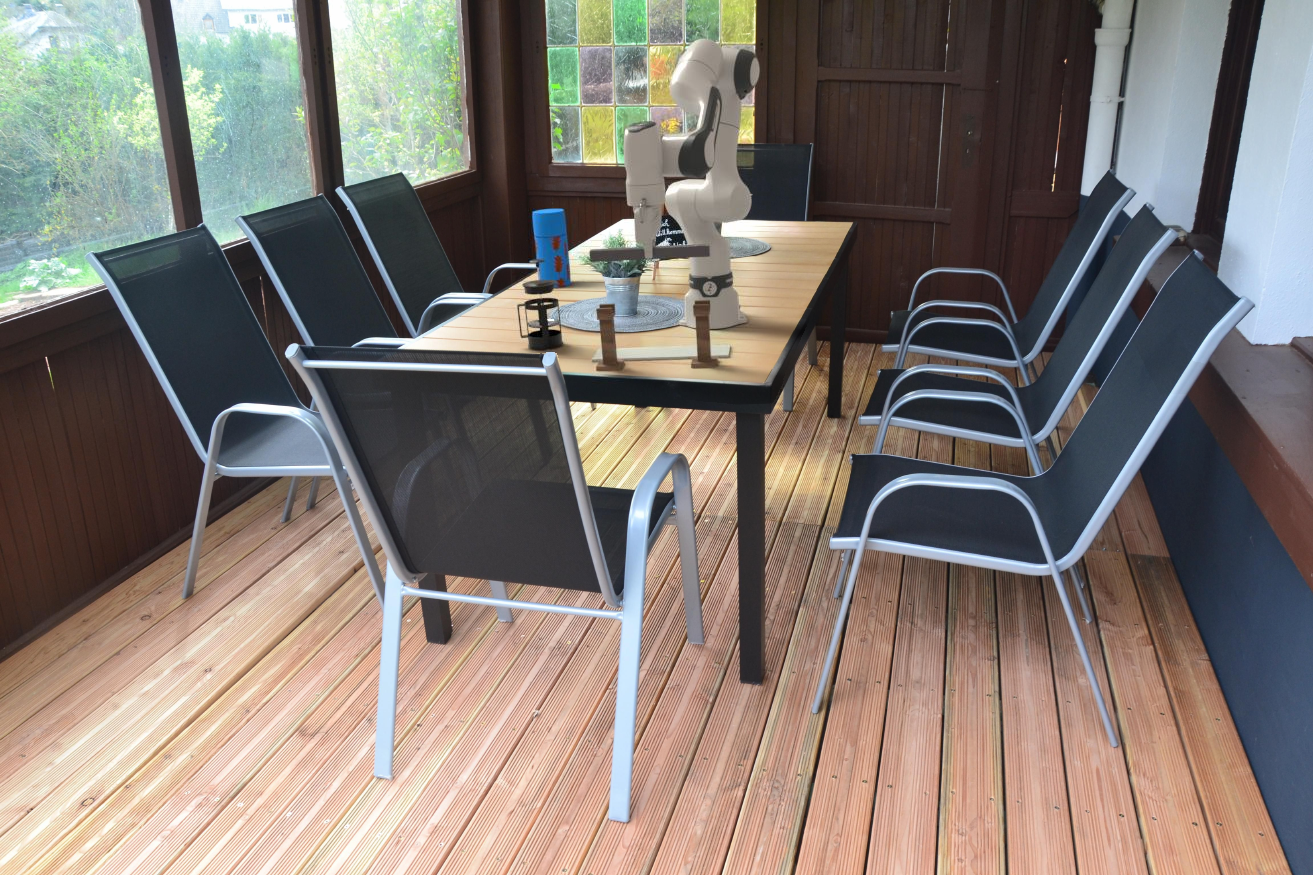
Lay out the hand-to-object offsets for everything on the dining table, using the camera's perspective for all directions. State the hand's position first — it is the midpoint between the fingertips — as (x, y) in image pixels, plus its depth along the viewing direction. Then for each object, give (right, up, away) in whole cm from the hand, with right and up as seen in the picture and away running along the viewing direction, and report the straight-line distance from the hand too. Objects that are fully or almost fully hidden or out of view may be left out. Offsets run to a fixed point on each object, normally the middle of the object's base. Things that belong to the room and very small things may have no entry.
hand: (650, 256), depth 238 cm
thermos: (-33, +10, +111) cm, 116 cm away
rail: (0, 0, 0) cm, 0 cm away
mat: (+3, -21, +18) cm, 28 cm away
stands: (+2, -25, +9) cm, 26 cm away
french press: (-29, -18, +34) cm, 48 cm away
